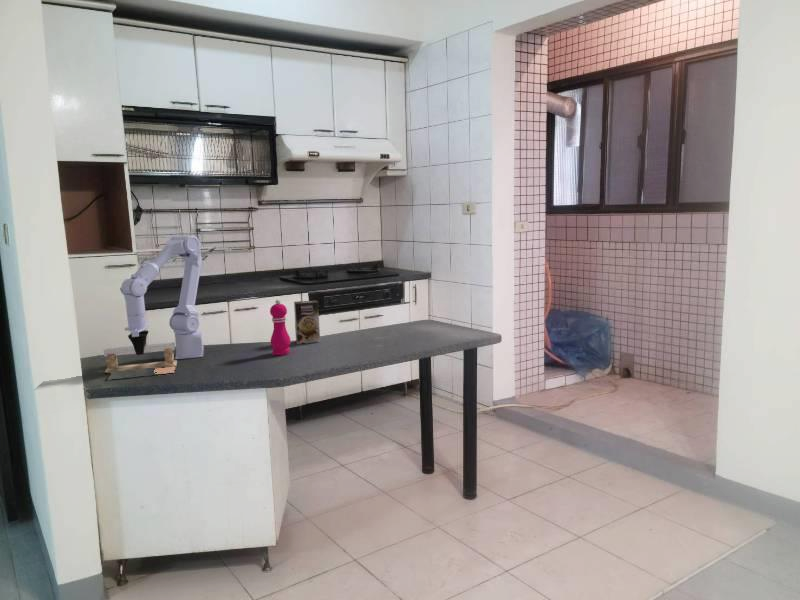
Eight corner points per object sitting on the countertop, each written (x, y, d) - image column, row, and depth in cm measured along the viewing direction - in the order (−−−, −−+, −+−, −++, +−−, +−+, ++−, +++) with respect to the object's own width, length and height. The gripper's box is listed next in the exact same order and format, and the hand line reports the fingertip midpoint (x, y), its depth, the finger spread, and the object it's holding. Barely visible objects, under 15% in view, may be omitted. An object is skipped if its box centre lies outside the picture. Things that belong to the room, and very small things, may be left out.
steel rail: (175, 348, 203) (174, 342, 203) (174, 349, 201) (174, 343, 201) (105, 355, 197) (104, 348, 197) (104, 356, 195) (103, 350, 195)
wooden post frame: (176, 362, 206) (175, 346, 205) (175, 367, 200) (174, 350, 199) (108, 369, 200) (106, 352, 199) (104, 374, 194) (102, 356, 193)
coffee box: (297, 344, 228) (294, 303, 226) (295, 341, 235) (293, 301, 232) (320, 342, 231) (318, 301, 228) (318, 339, 237) (316, 299, 234)
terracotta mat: (175, 367, 199) (175, 366, 199) (173, 373, 192) (173, 372, 192) (111, 374, 194) (110, 372, 194) (106, 380, 186) (106, 379, 186)
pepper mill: (267, 355, 213) (263, 300, 210) (279, 350, 219) (276, 297, 216) (282, 356, 209) (279, 301, 206) (295, 352, 216) (292, 298, 213)
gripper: (126, 311, 203) (130, 350, 205) (119, 318, 189) (124, 359, 191) (148, 310, 205) (152, 348, 207) (143, 317, 191) (147, 357, 193)
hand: (140, 353), depth 199 cm, fingers closed on steel rail, 2 cm apart
